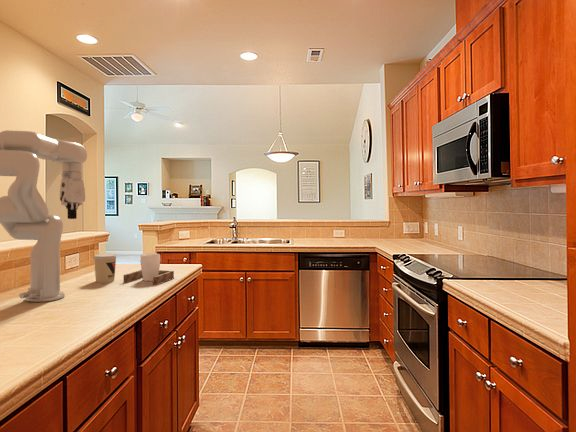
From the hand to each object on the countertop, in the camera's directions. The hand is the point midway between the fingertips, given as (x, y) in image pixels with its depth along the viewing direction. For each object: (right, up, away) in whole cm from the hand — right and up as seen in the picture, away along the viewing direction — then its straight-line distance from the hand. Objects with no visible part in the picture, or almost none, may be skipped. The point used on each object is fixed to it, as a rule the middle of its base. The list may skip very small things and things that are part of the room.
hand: (72, 218), depth 172 cm
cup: (+28, -29, +16) cm, 44 cm away
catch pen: (+28, -29, +15) cm, 43 cm away
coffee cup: (+9, -29, +11) cm, 32 cm away
